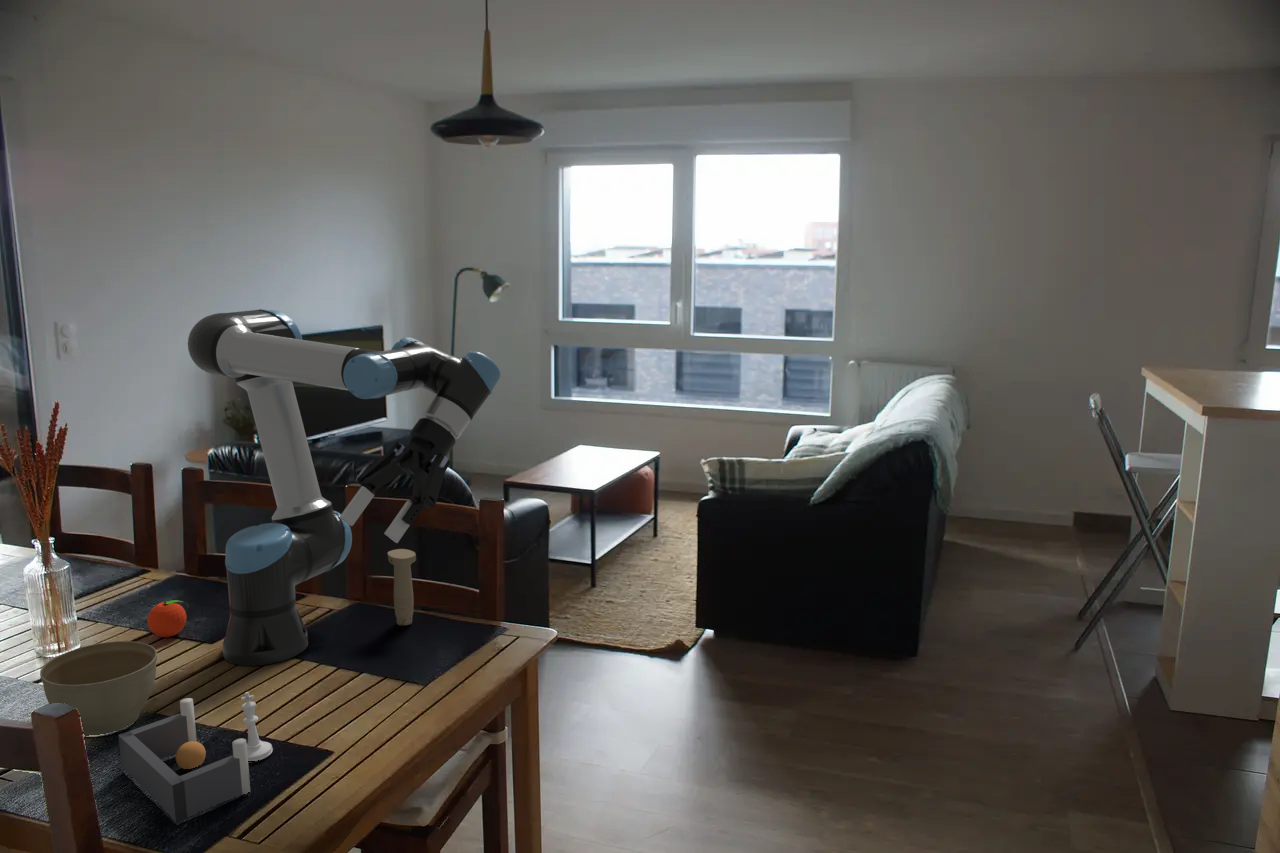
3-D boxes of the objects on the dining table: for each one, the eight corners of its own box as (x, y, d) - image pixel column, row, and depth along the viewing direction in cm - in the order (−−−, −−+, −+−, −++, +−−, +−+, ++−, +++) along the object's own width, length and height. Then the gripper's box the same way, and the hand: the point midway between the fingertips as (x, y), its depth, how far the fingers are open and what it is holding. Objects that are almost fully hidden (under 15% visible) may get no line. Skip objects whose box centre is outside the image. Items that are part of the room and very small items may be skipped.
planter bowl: (82, 761, 138) (74, 694, 136) (27, 731, 147) (19, 667, 145) (183, 716, 152) (177, 655, 150) (128, 691, 160) (122, 632, 158)
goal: (194, 744, 143) (189, 696, 142) (252, 793, 131) (248, 741, 129) (122, 772, 136) (116, 722, 134) (176, 826, 123) (171, 772, 122)
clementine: (181, 624, 189) (178, 591, 188) (200, 632, 185) (197, 598, 184) (142, 637, 182) (138, 603, 181) (160, 646, 179) (156, 611, 177)
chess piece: (239, 749, 142) (230, 689, 140) (273, 742, 144) (265, 682, 142) (236, 765, 138) (227, 703, 136) (271, 758, 139) (263, 696, 137)
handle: (402, 631, 186) (399, 560, 183) (386, 622, 191) (382, 552, 188) (423, 624, 190) (420, 554, 187) (406, 615, 194) (403, 547, 191)
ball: (195, 731, 137) (215, 749, 137) (186, 742, 139) (206, 759, 140) (174, 751, 134) (195, 769, 134) (165, 761, 136) (186, 779, 136)
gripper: (496, 452, 157) (425, 558, 148) (411, 432, 173) (343, 526, 165) (470, 425, 152) (395, 533, 144) (385, 407, 168) (313, 503, 160)
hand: (367, 530), depth 154 cm, fingers open, 13 cm apart
